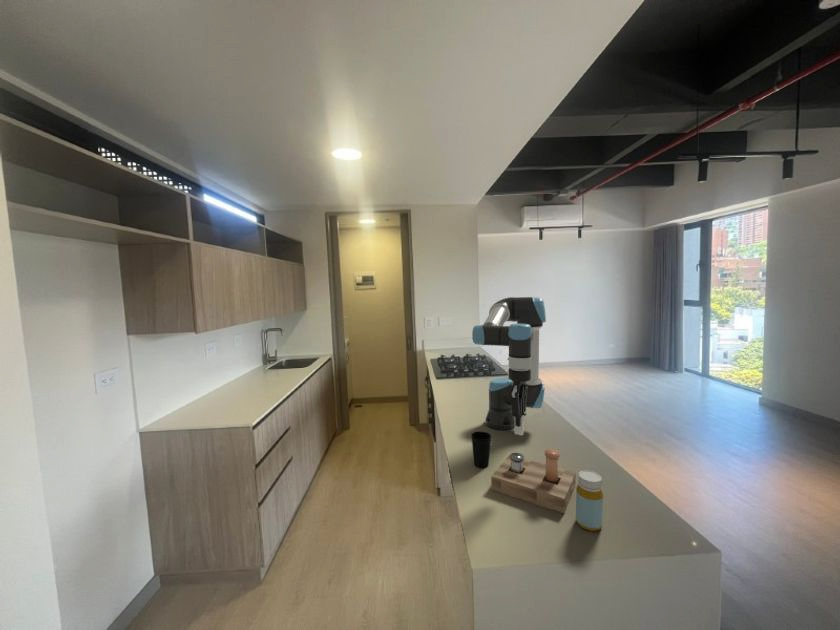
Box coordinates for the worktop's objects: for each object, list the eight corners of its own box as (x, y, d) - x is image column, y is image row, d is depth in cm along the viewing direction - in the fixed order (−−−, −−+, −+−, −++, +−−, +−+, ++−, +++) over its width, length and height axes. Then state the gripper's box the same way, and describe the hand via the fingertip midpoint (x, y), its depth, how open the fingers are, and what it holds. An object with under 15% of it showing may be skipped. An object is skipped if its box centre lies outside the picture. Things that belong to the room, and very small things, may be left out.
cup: (476, 471, 135) (476, 440, 134) (468, 461, 142) (468, 432, 141) (494, 467, 137) (494, 438, 136) (485, 458, 144) (485, 430, 143)
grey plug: (512, 475, 130) (512, 451, 129) (525, 478, 127) (525, 454, 126) (508, 481, 126) (508, 457, 125) (521, 485, 123) (521, 460, 122)
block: (509, 467, 137) (509, 454, 137) (575, 485, 124) (575, 472, 123) (491, 489, 122) (491, 476, 122) (564, 514, 109) (564, 498, 108)
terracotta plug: (546, 472, 122) (546, 447, 122) (560, 476, 120) (561, 451, 119) (542, 479, 118) (542, 453, 118) (557, 483, 116) (558, 457, 115)
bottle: (594, 516, 108) (595, 469, 106) (606, 532, 101) (608, 482, 99) (571, 516, 108) (572, 470, 106) (582, 533, 101) (584, 483, 99)
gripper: (515, 363, 130) (514, 425, 132) (502, 370, 119) (502, 438, 121) (535, 365, 125) (535, 429, 127) (524, 373, 115) (523, 443, 117)
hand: (518, 433), depth 124 cm, fingers closed
